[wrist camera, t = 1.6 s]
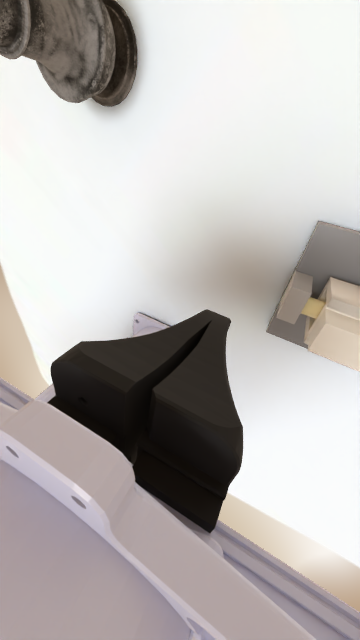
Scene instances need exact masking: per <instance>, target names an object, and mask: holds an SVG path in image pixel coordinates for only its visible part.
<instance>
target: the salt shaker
mask: <svg viewBox="0 0 360 640" xmlns="http://www.w3.org/2000/svg"><path fill="white" fill-rule="evenodd" d="M0 54H1V55H2V56H4V57H6V58H8V59H17V58H19V57H20V56H25V57H28V58H30V59H33V60H36V62H37V65H38V67H39V69H40V71H41V73H42V75H43V78H44V79H45V81H46V82H47V84H48V85H49V87H50V88H51V90H53V91H54V92H55V93H56V94H57V95H58V96H59V97H60V98H62V99H64V100H66V101H68V102H73V103H80V102H82V101H84V100H87V99H88V98H91V97H92V98H93V99H94V100H95V101H96V102H97V103H99V104H101V105H103V106H114V105H117V104H119V103H120V102H122V101H123V100H124V99H125V98H126V96H127V95H128V93H129V91H130V90H131V88H132V85H133V82H134V79H135V74H136V68H137V46H136V39H135V34H134V31H133V28H132V25H131V22H130V19H129V18H128V16H127V14H126V13H125V11H124V9H123V8H122V7H121V6H120V5H119V4H118V3H117V2H116V1H114V0H0Z"/></svg>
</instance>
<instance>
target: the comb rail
mask: <svg viewBox="0 0 360 640" xmlns="http://www.w3.org/2000/svg"><path fill="white" fill-rule="evenodd" d="M330 277H332V278H335V279H338V280H341V281H344V282H347V283H351V284H354V285H357V286H360V232H359V231H355V230H352V229H348V228H344V227H340V226H336V225H333V224H329V223H325V222H321V221H318V223H317V226H316V228H315V230H314V232H313V234H312V236H311V238H310V240H309V242H308V244H307V246H306V248H305V250H304V252H303V255H302V257H301V259H300V261H299V263H298V265H297V267H296V269H295V271H294V273H293V275H292V277H291V279H290V282H289V284H288V286H287V288H286V290H285V292H284V294H283V296H282V298H281V300H280V302H279V304H278V306H277V308H276V311H275V313H274V315H273V317H272V319H271V321H270V323H269V325H268V328H267V331H266V332H268V333H270V334H273V335H275V336H278V337H280V338H282V339H285V340H287V341H290V342H292V343H295V344H297V345H300V346H302V347H305V348H307V349H308V345H307V344H305V343H304V336H305V327H306V318H307V316H309V317H312V318H315V319H316V318H317V317H318V315H319V314H320V312H321V310H322V309H323V307H324V305H325V304H326V302H323V301H321V300H318V297H319V296H320V294H321V292H322V291H323V289H324V287H325V285H326V284H327V282H328V280H329V279H330Z"/></svg>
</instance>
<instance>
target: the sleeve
mask: <svg viewBox="0 0 360 640" xmlns="http://www.w3.org/2000/svg"><path fill="white" fill-rule="evenodd" d="M318 300H321V301H323V302H326V304H325V305H324V307H323V309H322V310H321V312H320V314H319V315H318V317H317V318H316V319H315V318H312V317H309V316H307V318H306V327H305V336H304V343H305V344H307V345H308V351H310V352H312V353H315V354H317V355H320V356H322V357H325V358H327V359H330V360H332V361H335V362H337V363H339V364H342V365H344V366H347V367H349V368H352V369H354V370H357V371H359V372H360V286H357V285H354V284H351V283H347V282H344V281H341V280H338V279H335V278H332V277H330V279H329V280H328V282H327V284H326V285H325V287H324V289H323V291H322V292H321V294H320V296H319V297H318Z"/></svg>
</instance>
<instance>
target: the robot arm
mask: <svg viewBox="0 0 360 640" xmlns="http://www.w3.org/2000/svg"><path fill="white" fill-rule="evenodd" d="M230 323H231V320H230V319H229V318H227V317H224V316H222V315H220V314H217V313H215V312H212V311H210V310H204V311H202V312H200V313H198V314H197V315H195V316H193V317H191V318H189V319H187V320H185V321H182V322H180V323H178V324H176V325H173V326H171V327H170V326H167V325H165V324H163V323H161V322H158V321H156V320H154V319H152V318H149V317H147V316H145V315H143V314H140V313H136V314H135V315H134V326H133V337H132V338H126V339H119V340H109V341H85V342H80V343H78V344H77V345H75V346H74V347H73V348H71V349H70V350H69V351H67V352H66V353H64V354H63V355H62V356H60V357H59V358H58V359H56V360H55V361H54V362H53V363H52V365H51V377H52V381H53V384H51V385H50V386H49V387H48V388H47V389H45V390H44V391H43V392H42V393H41V394H40V395H38V396H37V397H36V398H35V399H32V398H31V397H30V396H28V395H26V394H25V393H23V392H22V391H20V390H19V389H17V388H16V387H14V386H13V385H11V384H10V383H8V382H7V381H5V380H4V379H2V378H0V640H360V612H358V611H357V610H355V609H354V608H352V607H351V606H349V605H348V604H346V603H345V602H343V601H342V600H340V599H339V598H337V597H336V596H334V595H332V594H331V593H329V592H328V591H326V590H325V589H323V588H322V587H320V586H319V585H317V584H315V583H314V582H313V581H311V580H309V579H308V578H306V577H305V576H303V575H302V574H300V573H299V572H297V571H296V570H294V569H293V568H291V567H290V566H288V565H287V564H285V563H283V562H282V561H280V560H279V559H277V558H276V557H274V556H273V555H271V554H270V553H268V552H267V551H265V550H264V549H262V548H261V547H259V546H257V545H256V544H254V543H253V542H251V541H250V540H248V539H247V538H245V537H244V536H242V535H241V534H239V533H237V532H236V531H234V530H233V529H231V528H230V527H228V526H227V525H225V524H224V523H222V522H221V521H219V520H218V516H219V513H220V510H221V506H222V503H223V500H224V499H225V497H226V494H227V491H228V487H229V485H230V483H231V482H232V481H233V479H234V478H235V476H236V475H237V474H238V472H239V470H240V467H241V463H242V455H243V427H242V424H241V422H240V419H239V416H238V414H237V411H236V408H235V405H234V401H233V398H232V394H231V390H230V386H229V381H228V375H227V368H226V336H227V331H228V329H229V326H230Z"/></svg>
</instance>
